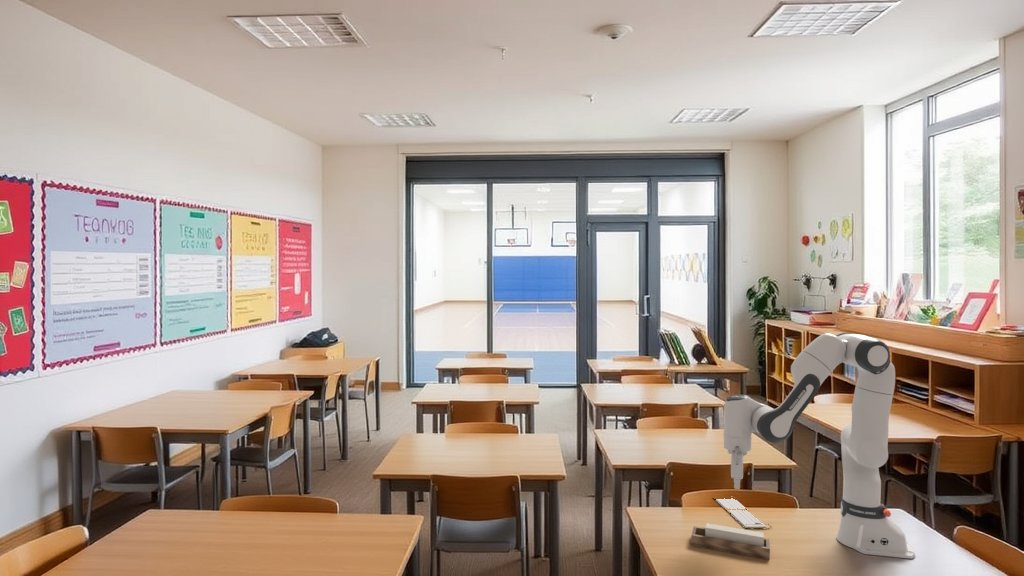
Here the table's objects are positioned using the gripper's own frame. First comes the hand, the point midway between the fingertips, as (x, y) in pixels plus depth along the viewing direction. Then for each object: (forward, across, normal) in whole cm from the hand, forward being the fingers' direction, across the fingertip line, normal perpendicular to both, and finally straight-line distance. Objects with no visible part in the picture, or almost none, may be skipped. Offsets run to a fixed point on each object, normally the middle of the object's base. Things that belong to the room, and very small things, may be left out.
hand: (737, 483), depth 200 cm
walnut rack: (+20, -5, +2) cm, 21 cm away
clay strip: (+18, -5, +1) cm, 19 cm away
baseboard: (+21, +29, -1) cm, 36 cm away
